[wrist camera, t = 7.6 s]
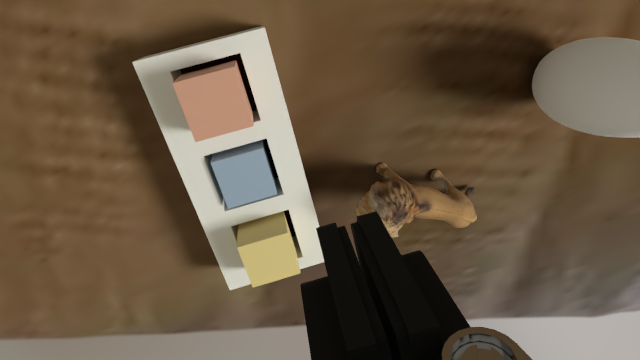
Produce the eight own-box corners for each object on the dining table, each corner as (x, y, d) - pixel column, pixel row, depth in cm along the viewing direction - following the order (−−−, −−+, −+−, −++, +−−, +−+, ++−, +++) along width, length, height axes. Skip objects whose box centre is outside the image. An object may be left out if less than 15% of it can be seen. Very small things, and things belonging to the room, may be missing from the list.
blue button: (214, 147, 35) (210, 162, 32) (261, 134, 35) (262, 148, 32) (229, 189, 37) (228, 208, 33) (274, 176, 37) (277, 194, 34)
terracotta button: (181, 74, 30) (172, 83, 27) (236, 60, 30) (234, 66, 27) (201, 127, 32) (195, 142, 28) (252, 113, 32) (253, 126, 29)
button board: (145, 56, 32) (132, 62, 28) (262, 25, 33) (264, 27, 29) (231, 265, 41) (229, 290, 38) (321, 239, 42) (328, 260, 38)
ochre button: (238, 223, 36) (237, 247, 32) (283, 210, 36) (287, 232, 33) (252, 261, 38) (252, 287, 34) (295, 248, 38) (300, 273, 35)
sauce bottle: (503, 115, 40) (681, 187, 23) (518, 33, 37) (736, 51, 20) (571, 112, 41) (785, 178, 25) (591, 32, 38) (852, 49, 22)
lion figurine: (338, 207, 41) (361, 256, 33) (344, 159, 39) (369, 199, 31) (466, 206, 43) (516, 251, 35) (477, 162, 41) (533, 199, 33)
